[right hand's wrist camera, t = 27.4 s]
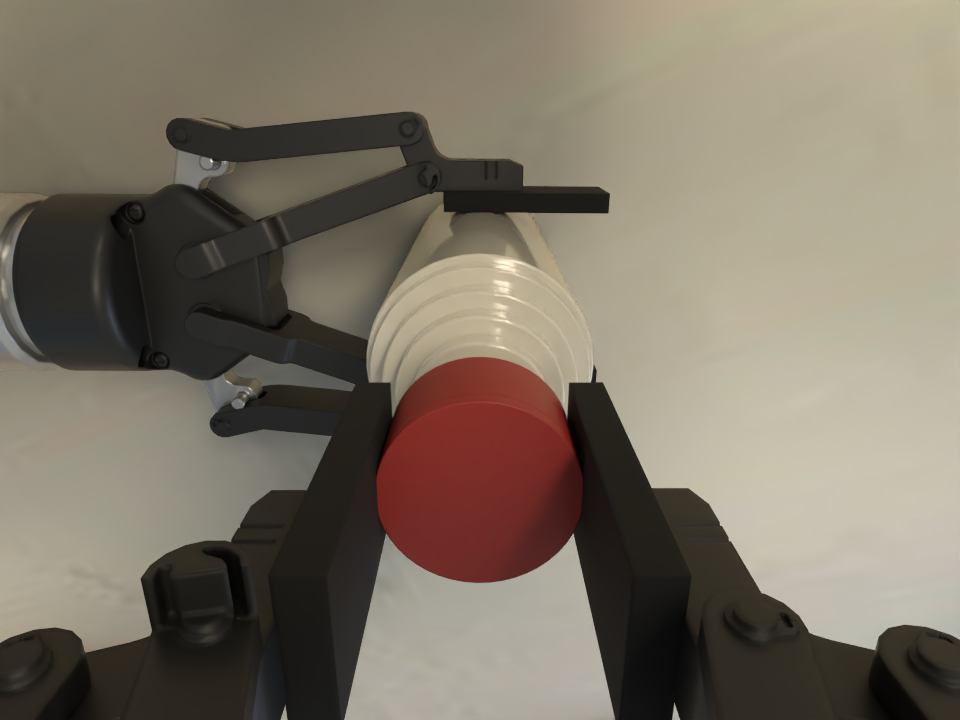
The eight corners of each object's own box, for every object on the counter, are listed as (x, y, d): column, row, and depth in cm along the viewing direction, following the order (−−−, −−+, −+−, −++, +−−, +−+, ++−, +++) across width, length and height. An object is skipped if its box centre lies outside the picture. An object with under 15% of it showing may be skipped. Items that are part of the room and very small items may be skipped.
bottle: (559, 209, 34) (693, 366, 13) (523, 329, 36) (585, 634, 15) (432, 175, 33) (349, 280, 12) (404, 299, 35) (291, 573, 14)
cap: (601, 398, 15) (623, 450, 12) (521, 538, 16) (528, 609, 14) (432, 326, 14) (422, 367, 12) (364, 478, 15) (344, 542, 13)
